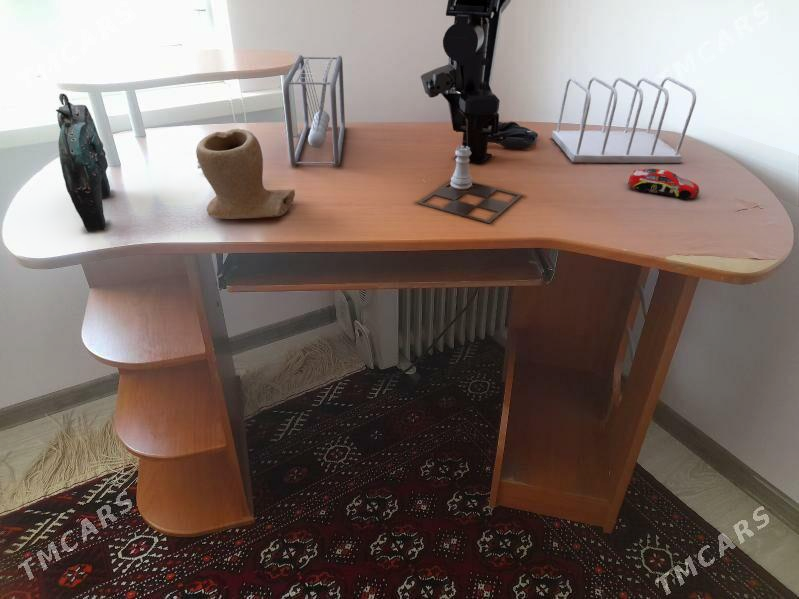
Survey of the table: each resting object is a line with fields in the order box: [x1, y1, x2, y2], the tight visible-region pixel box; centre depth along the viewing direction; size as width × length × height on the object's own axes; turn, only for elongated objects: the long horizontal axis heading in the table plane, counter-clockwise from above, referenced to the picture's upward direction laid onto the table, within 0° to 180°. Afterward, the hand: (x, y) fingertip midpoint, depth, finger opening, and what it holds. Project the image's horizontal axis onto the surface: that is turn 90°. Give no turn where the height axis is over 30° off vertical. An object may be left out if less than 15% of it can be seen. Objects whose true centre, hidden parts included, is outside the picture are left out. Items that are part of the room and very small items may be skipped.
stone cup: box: [195, 128, 296, 220], centre depth 95 cm, size 15×12×15 cm
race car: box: [627, 168, 700, 201], centre depth 109 cm, size 13×5×4 cm, turn 63°
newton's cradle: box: [282, 54, 346, 167], centre depth 125 cm, size 30×10×18 cm, turn 2°
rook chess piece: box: [449, 145, 473, 191], centre depth 108 cm, size 4×4×8 cm
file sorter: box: [551, 76, 697, 164], centre depth 126 cm, size 25×17×16 cm
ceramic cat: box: [55, 93, 111, 233], centre depth 94 cm, size 20×6×20 cm, turn 21°
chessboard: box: [417, 180, 523, 225], centre depth 106 cm, size 15×15×1 cm
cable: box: [488, 121, 539, 150], centre depth 134 cm, size 17×14×4 cm
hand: (462, 137), depth 105 cm, fingers open, 9 cm apart
